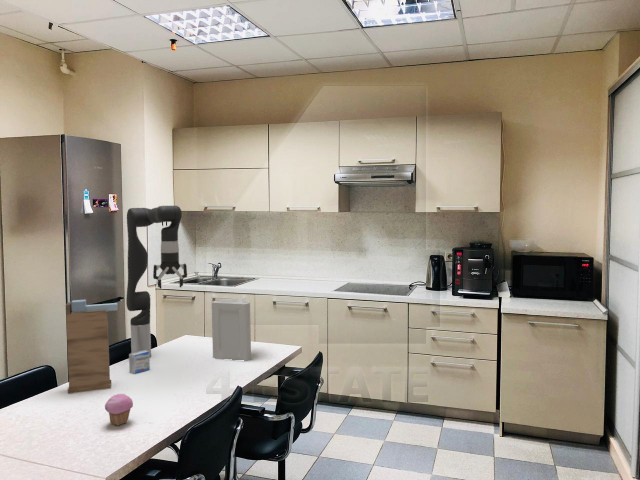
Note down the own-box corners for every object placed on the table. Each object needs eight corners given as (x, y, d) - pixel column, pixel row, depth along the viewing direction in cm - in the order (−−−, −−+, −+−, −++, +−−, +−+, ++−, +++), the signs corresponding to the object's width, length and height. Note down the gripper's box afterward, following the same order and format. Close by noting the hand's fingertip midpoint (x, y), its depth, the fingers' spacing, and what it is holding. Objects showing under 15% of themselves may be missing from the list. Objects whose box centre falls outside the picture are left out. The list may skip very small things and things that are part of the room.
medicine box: (134, 374, 224) (134, 355, 224) (129, 372, 227) (128, 353, 227) (150, 369, 231) (149, 351, 230) (144, 367, 233) (143, 349, 233)
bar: (73, 311, 206) (72, 300, 205) (117, 308, 211) (117, 297, 211) (71, 314, 201) (71, 302, 201) (117, 310, 207) (116, 299, 207)
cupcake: (125, 416, 178) (124, 388, 178) (138, 422, 173) (137, 394, 172) (100, 424, 171) (99, 395, 171) (113, 431, 166) (112, 401, 165)
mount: (69, 387, 208) (66, 302, 205) (111, 382, 213) (108, 299, 211) (67, 393, 201) (64, 305, 199) (110, 388, 207) (107, 302, 204)
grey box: (260, 353, 255) (259, 298, 254) (247, 361, 241) (246, 304, 240) (226, 350, 261) (225, 297, 260) (212, 358, 247) (210, 302, 245)
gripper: (185, 249, 224) (186, 285, 226) (152, 250, 219) (153, 287, 221) (187, 251, 217) (187, 288, 219) (153, 252, 212) (153, 290, 214)
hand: (170, 287), depth 220 cm, fingers open, 8 cm apart
